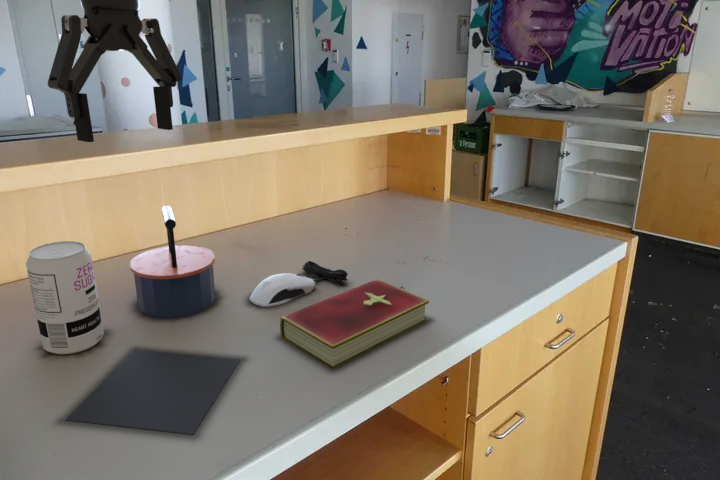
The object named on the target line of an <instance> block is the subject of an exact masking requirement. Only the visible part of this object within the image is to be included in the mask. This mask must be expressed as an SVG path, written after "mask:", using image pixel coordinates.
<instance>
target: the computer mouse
mask: <svg viewBox="0 0 720 480" xmlns="http://www.w3.org/2000/svg"><path fill="white" fill-rule="evenodd" d="M301 270H302V271H304V272H305V273H306V274H307V275H316V276H318V277H321V278H318V279H315V280H314V279H312V278H309V277H308V276H304V274H303V273H297V274H295V273H288V272H287V273H276V274H273V275H270V276H267V277H265V278H264V279H262V281H260V282H259V284H258V285H257V286H256V287H255V288H254V289H253V291H252V293H251V295H250V297H249V301H250V302H251V303H252V304H253V305H255V306H258V307H260V308H261V307H262V308H272V307H277V306H280V305H283V304H284V305H285V304H286V303H289V302H290V301H292V300H294V299H297V298H298V297H301V296H303V295H306V294H310V293H311V292H313V290H314V288H315V287H316V283H317V282H319V281H322V280H325V279H329V280H332V279H333V280H334V281H336V282H337V283H338V284H340V285H341V286H344V282H347V281H348V278H347V276H348V274H349V273H348V272H347V270H344V269H335V270H333V269H330V268H326V267H324V266H321V265H319V264H318V263H316V262H314V261H311V260H307V261H306V262H305V263H304V264H302V268H301Z"/></svg>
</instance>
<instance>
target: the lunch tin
mask: <svg viewBox="0 0 720 480" xmlns="http://www.w3.org/2000/svg"><path fill="white" fill-rule="evenodd" d="M133 277H134V284H135V285H134V286H135V292H136V299H137V308H138V310H139V311H140V313H141V314H143V315H145V316H147V317H151V318H154V319H164V320H165V319H167V320H168V319H179V318H180V319H181V318H186V317H190V316H193V315H197V314H199V313H201V312H203V311H205V310H207V309H209V308H210V307H211V306H212V305H213V304H214V302H215V299H216V288H215V287H216V286H215V274H214V264H213V265H212V266H211V267H209V268H208V269H206V270H204V271H202V272H200V273H197V274H194V275H190V276H186V277H181V278H173V279H151V278H145V277H141V276H138V275H136V274H134V273H133Z"/></svg>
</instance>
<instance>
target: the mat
mask: <svg viewBox="0 0 720 480" xmlns="http://www.w3.org/2000/svg"><path fill="white" fill-rule="evenodd" d="M240 362H241V359H239V358H229V357H228V358H227V357H218V356H207V355H198V354H197V355H196V354H187V353H176V352H166V351H155V350H144V349H133V351H132V352H131V353H130V354H129V355H127V356H126V357H125V359H124V360H123V361H122V362H121V363H120V364H118V366H117V367H116V368H115V369H114V370H113V371H112V372H111V373H110V374H109V375H108V376H107V377H105V379H104V380H103V381H102V382H101V383H100V384H99V385H98V386H97V387H96V388H95V389H94V390H93V391H92V392H91V393H90V394H89V395H88V396H87V397H86V398H85V399H84V401H82V402H81V403H80V404H79V405H78V406H77V407H76V408H75V409H74V410H73V412H71V414H69V416H67V417H66V418H65V422H74V423H84V424H92V425H100V426H101V425H102V426H109V427H117V428H126V429H133V430H135V429H136V430H143V431H153V432H159V433H160V432H161V433H169V434H179V435H187V436H194V435H195V434H196V432H197V430H198V429H199V427H200V425H202V423H203V421H204V419H205V418H206V416H207V415H208V413H209V411H210V410H211V408H212V407H213V405H214V403H215V402H216V400H217V398H218V397H219V396H220V393H221V392H222V390H223V389H224V388H225V386H226V384H227V383H228V381H229V380H230V378H231V376H232V374H233V373H234V372H235V370H236V369H237V367H238V365H239V363H240Z"/></svg>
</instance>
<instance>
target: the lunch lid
mask: <svg viewBox="0 0 720 480" xmlns="http://www.w3.org/2000/svg"><path fill="white" fill-rule="evenodd" d="M161 215H162V218H163V223H164V227H165V228H166V235H167V236H166V237H167V244H168V245H167V246H161V247H156V248H152V249H149V250H146V251H144V252H143V251H142V252H141V253H138V254H137V255H136V256H134V257H133V258H131V260H130V262H129V269H130V271H131V272H132V273H133V275H134V274H136V275H138V276H141V277H145V278H151V279H173V278H181V277H186V276H190V275H194V274H197V273H200V272H202V271H204V270H206V269H208V268H209V267H211V266H212V265H213V266H214V264H215V261H216V255H215V253H214V252H213V251H212V250H210V249H208V248H206V247H204V246H203V247H202V246H198V245H189V244H188V245H187V244H184V245H183V244H179V245H176V242H175V231H174V229H175V228H176V226H177V222H176V219H175V215H174V212H173V208H172V207H171V206H170V205H164V206H162V207H161Z"/></svg>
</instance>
